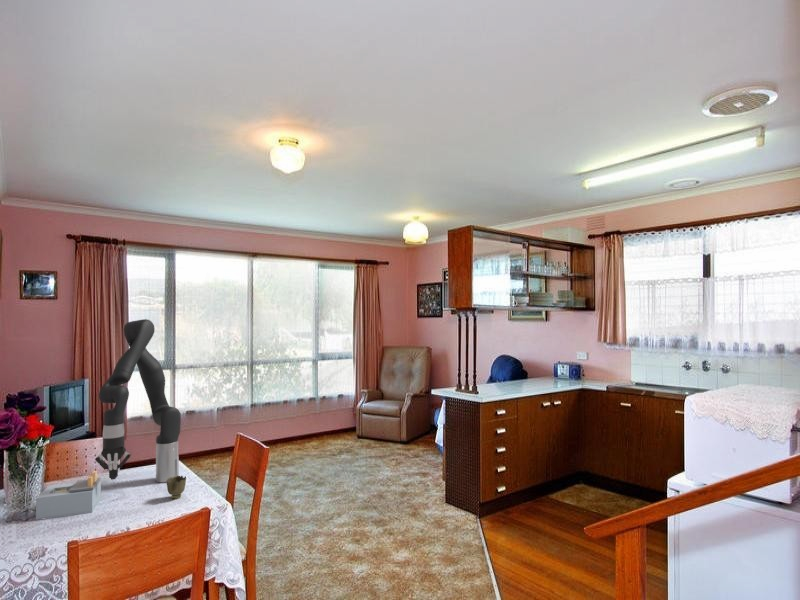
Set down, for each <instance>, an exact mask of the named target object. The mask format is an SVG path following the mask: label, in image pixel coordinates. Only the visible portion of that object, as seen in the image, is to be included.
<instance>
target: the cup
mask: <svg viewBox="0 0 800 600" xmlns="http://www.w3.org/2000/svg"><path fill="white" fill-rule="evenodd" d="M186 481H187V477H186V475H185V476H183V475H179V476H177V477H173V478H172V477H170V478H169V479H168V480H166V482H165V483H166V487H167V492H168V494H169V495H170V496H171V498H172V499H173V500H178V499H179V498H181V497H182V493H183V492H184V491H185V489H186Z"/></svg>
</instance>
